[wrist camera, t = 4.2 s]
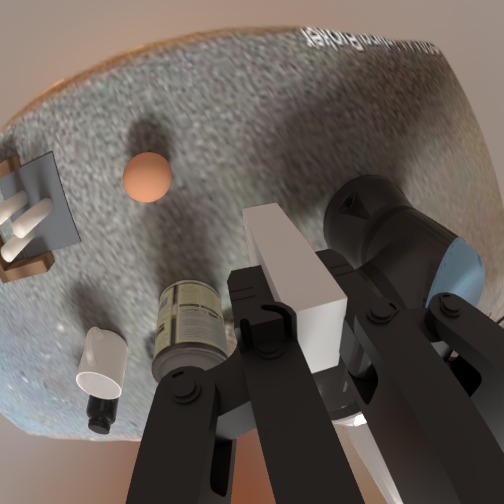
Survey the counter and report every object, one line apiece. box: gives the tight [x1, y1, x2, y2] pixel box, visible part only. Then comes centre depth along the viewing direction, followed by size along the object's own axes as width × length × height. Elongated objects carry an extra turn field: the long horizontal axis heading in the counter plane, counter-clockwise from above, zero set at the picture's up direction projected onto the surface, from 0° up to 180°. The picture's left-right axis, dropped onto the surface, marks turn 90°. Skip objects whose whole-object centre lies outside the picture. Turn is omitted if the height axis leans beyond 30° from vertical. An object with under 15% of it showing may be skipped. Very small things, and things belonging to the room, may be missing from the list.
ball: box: [123, 152, 172, 202], centre depth 30 cm, size 6×6×6 cm
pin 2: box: [1, 224, 39, 262], centre depth 28 cm, size 2×2×8 cm
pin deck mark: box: [0, 152, 81, 258], centre depth 31 cm, size 12×14×1 cm
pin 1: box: [0, 190, 28, 225], centre depth 26 cm, size 2×2×8 cm
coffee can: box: [152, 280, 229, 383], centre depth 38 cm, size 10×10×14 cm
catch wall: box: [0, 155, 55, 283], centre depth 29 cm, size 12×18×3 cm, turn 8°
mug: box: [76, 327, 128, 399], centre depth 40 cm, size 12×8×10 cm
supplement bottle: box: [86, 394, 119, 434], centre depth 46 cm, size 7×7×12 cm
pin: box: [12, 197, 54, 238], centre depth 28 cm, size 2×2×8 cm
